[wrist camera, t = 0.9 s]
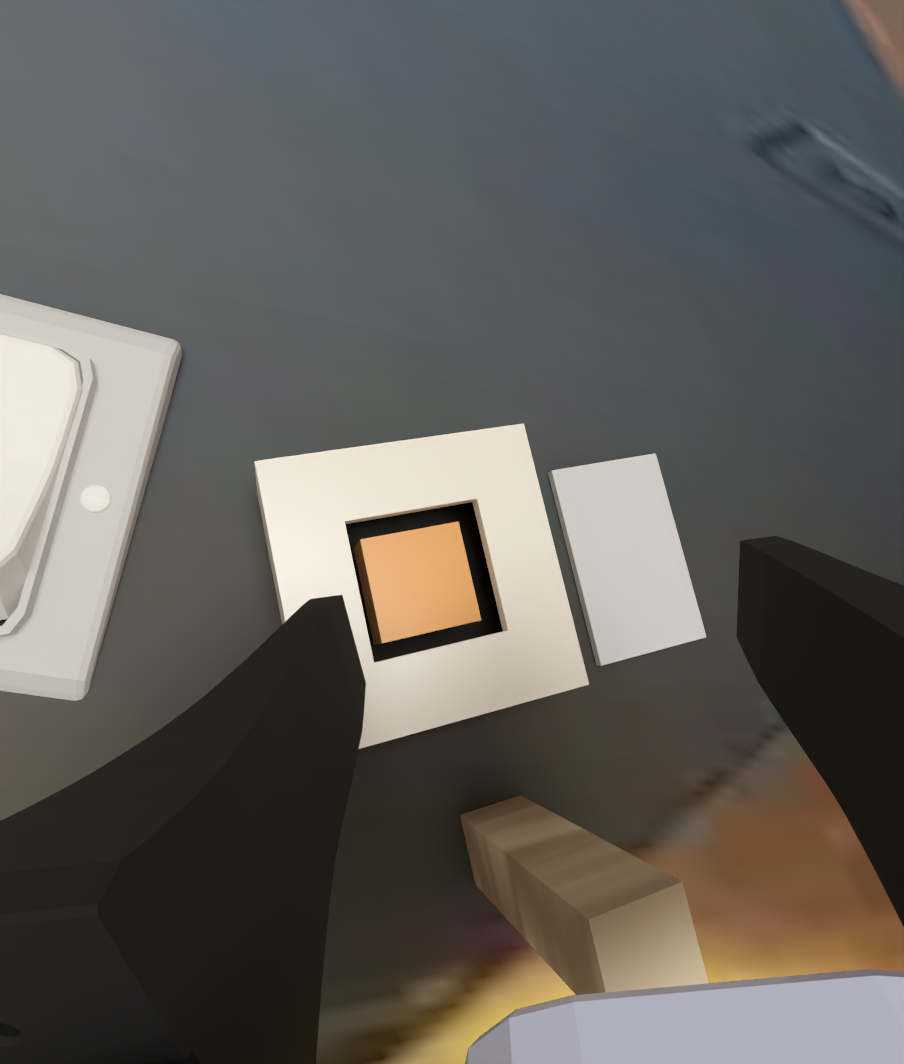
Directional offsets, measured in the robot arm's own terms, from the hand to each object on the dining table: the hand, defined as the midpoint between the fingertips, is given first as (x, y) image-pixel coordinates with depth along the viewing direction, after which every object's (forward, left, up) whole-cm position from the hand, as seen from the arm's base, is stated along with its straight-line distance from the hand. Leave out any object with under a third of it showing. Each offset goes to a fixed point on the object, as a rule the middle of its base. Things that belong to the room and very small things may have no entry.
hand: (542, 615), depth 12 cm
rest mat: (+1, -10, -13) cm, 16 cm away
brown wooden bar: (-8, -2, -13) cm, 15 cm away
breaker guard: (+2, 0, -13) cm, 13 cm away
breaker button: (+2, 0, -11) cm, 12 cm away
